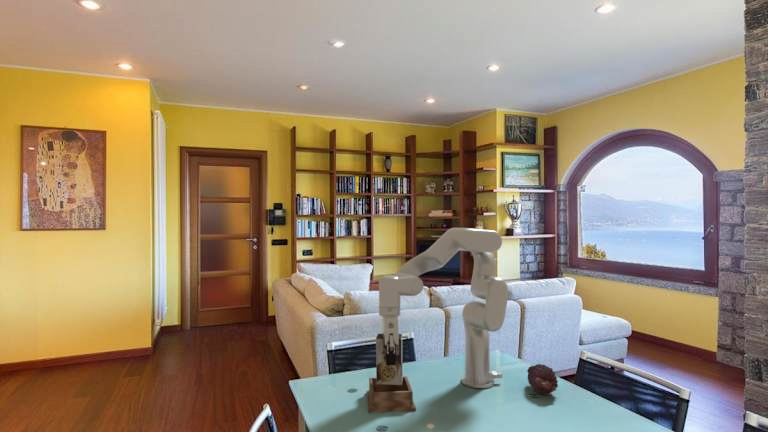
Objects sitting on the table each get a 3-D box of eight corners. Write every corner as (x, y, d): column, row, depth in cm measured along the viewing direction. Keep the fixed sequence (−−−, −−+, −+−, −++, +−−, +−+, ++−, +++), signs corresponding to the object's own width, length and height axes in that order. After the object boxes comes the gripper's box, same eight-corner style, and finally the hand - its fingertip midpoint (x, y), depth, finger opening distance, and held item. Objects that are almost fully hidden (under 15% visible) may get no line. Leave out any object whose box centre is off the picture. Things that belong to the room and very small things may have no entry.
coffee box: (402, 378, 151) (402, 333, 152) (401, 385, 145) (401, 338, 145) (377, 377, 152) (377, 332, 152) (375, 384, 146) (375, 337, 146)
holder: (409, 391, 157) (409, 375, 157) (416, 410, 141) (416, 393, 141) (366, 393, 156) (366, 376, 156) (368, 412, 140) (368, 394, 140)
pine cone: (519, 383, 165) (519, 357, 165) (544, 382, 166) (544, 356, 166) (539, 402, 147) (538, 374, 147) (566, 401, 148) (566, 373, 148)
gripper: (403, 316, 141) (403, 369, 140) (397, 305, 158) (397, 353, 158) (381, 316, 140) (380, 370, 140) (377, 306, 157) (377, 353, 157)
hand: (389, 360), depth 149 cm, fingers closed on coffee box, 7 cm apart
